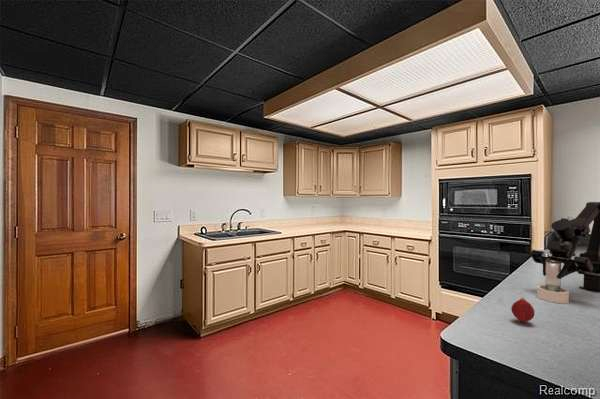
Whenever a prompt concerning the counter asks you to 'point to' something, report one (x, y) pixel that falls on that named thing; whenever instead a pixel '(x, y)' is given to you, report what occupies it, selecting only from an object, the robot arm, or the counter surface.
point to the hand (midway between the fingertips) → (551, 276)
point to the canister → (552, 275)
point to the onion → (522, 310)
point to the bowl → (553, 295)
